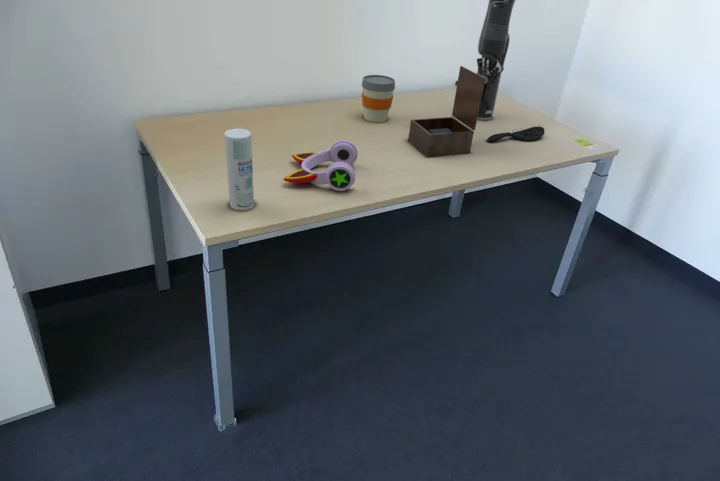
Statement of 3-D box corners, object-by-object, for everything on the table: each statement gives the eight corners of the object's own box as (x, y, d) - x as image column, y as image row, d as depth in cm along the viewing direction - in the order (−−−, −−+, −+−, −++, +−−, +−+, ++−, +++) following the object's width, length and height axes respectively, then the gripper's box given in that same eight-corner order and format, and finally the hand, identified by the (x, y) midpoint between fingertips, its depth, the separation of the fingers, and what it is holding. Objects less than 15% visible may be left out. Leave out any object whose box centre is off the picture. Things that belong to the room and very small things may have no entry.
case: (427, 157, 176) (430, 135, 172) (408, 140, 187) (410, 119, 183) (469, 153, 182) (474, 131, 178) (448, 137, 193) (452, 116, 189)
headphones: (357, 168, 146) (285, 154, 145) (351, 199, 151) (281, 185, 150) (360, 141, 163) (295, 128, 161) (354, 170, 168) (291, 157, 166)
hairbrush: (482, 130, 193) (536, 121, 202) (480, 139, 196) (534, 130, 204) (495, 138, 187) (550, 129, 196) (494, 148, 189) (548, 138, 198)
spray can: (239, 213, 136) (235, 140, 126) (224, 204, 140) (218, 132, 129) (259, 205, 141) (256, 134, 130) (244, 196, 144) (240, 126, 134)
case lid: (483, 78, 168) (497, 77, 170) (460, 66, 179) (473, 65, 181) (473, 130, 177) (486, 129, 179) (451, 115, 189) (464, 114, 190)
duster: (431, 148, 181) (434, 134, 178) (425, 143, 184) (427, 129, 182) (452, 146, 184) (454, 132, 181) (445, 141, 187) (448, 128, 184)
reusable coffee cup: (374, 126, 197) (378, 86, 189) (352, 116, 205) (355, 77, 197) (398, 120, 205) (402, 81, 197) (376, 110, 212) (379, 73, 204)
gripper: (517, 41, 166) (505, 96, 175) (493, 32, 176) (483, 84, 186) (497, 42, 164) (486, 97, 173) (474, 33, 174) (465, 85, 183)
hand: (484, 90), depth 179 cm, fingers closed
